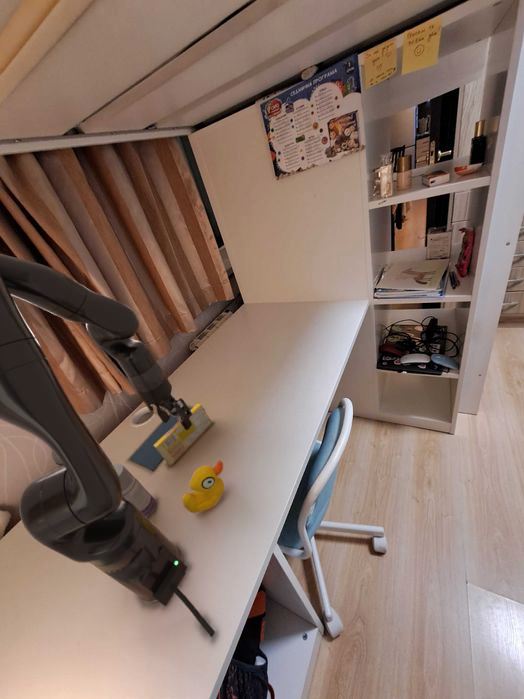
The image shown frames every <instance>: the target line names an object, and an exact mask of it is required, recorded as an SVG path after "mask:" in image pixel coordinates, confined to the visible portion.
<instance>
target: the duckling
mask: <svg viewBox="0 0 524 699" xmlns="http://www.w3.org/2000/svg"><path fill="white" fill-rule="evenodd" d="M223 470H224V462H223V461H222V460H218V461H217V463H216V464H214V466H213V467H212V466H211V465H202V466H199V467H198V468H197V469H196V470H195V471H194V472H193V474H192V475H191V479H190V481H189V484H188V486H189V488H190V489H191V490H192V491H193V492H186V493H185V494H184V495H182V496H183V497H182V505H183V506H184V508H185V509H186V510H187V511H188V512H190V513H192V514H196V513H200V512H204V511H205V512H206V511H208V510H210V509H212V508H214V507H215V506H216V505H217V504H218V502H219V501H220V499H221V498H222V496H223V493H224V490H225V483H224V480H223V479H222V478H221V477H220V476H219V475H221V473H222V472H223Z"/></svg>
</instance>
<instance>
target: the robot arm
mask: <svg viewBox="0 0 524 699" xmlns="http://www.w3.org/2000/svg"><path fill="white" fill-rule="evenodd" d="M14 297H15V298H18V299H20V300H22V301H25V302H27V303H30V304H32V305H34V306H36V307H38V308H40V309H42V310H43V311H47V312H49V313H51V314H53V315H54V316H57V317H59V318H61V319H63V320H65V321H68V322H71V323H75V324H85V327H86V330H87V332H88V335H89V336H90V338H91V339H92V340H93V341H94V342H95V343H96V344H97V345H98V346H99V347H100V348H101V349H102V350H103V351H104V352H106V353H107V354H108V355H109V356H110V357H111V358H113V359H114V360H115V361H116V362H117V363H118V365H119V367H120V368H121V369H122V370H123V372H124V373H125V375H126V376H127V378H128V380H129V383H130V385H131V386H132V387H133V388H134V390H135V391H136V393H137V394H138V396H139V397H140V398H141V400H142V401H143V403H144V405H145V406H146V408H147V409H148V410H149V411H150V412H152V413H154V414H155V415H157V416H158V417H159V419H160V420H161V423H162V422H163V423H167V422H168V420H169V419H170V416H172V417H176V418H177V419H178V420H179V421H180V423H181V424H182V426H183V427H184V429H185V430H188V429H189V428H190V427H191V426H192V423H191V421H190V420H189V418H190V416H191V415H192V413H191V411H190V410H189V408H188V407H189V406H188V405H187V403H186V402H185V401H184V399H183V398H181V397H180V398H178V399H176V398H175V397H174V396H173V395H172V390H173V386H172V384H171V382H170V381H169V379H168V377H167V375H166V374H165V372H164V370H163V369H162V367H161V365H160V364H159V363H158V362H157V361H156V359H155V357H154V356H153V354H152V353H151V351H150V349H149V347H148V346H147V345H146V344H145V343H144V342H143V341H141V340H139V339H135V338H132V337H134V336H135V335H136V334H137V333H138V332H139V329H140V322H139V318H138V316H137V314H136V312H135V311H133V309H132V308H130V307H129V306H128V305H126V304H124V303H123V302H120V301H117V300H116V299H113V298H111V297H108V296H106V295H103V294H100V293H98V292H94V291H93V290H90V289H89V288H87V287H86V286H84V285H83V284H81V283H79V282H78V281H76V280H75V279H73V278H71V277H70V276H68V275H66V274H65V273H63V272H61V271H59V270H57V269H55V268H53V267H50V266H47V265H44V264H42V263H39V262H34V261H31V260H27V259H23V258H18V257H15V256H11V255H7V254H4V253H0V420H1V421H3V422H5V423H7V424H9V425H11V426H14V427H16V428H18V429H21V430H22V431H25V432H27V433H29V434H31V435H32V436H34V437H36V438H38V439H39V440H40V441H41V442H43V443H44V444H45V445H46V446H47V447H48V448H49V449H50V450H51V452H52V451H53V452H54V453H55V454H56V455H57V457H58V458H59V459H60V461H61V462H62V463H63V465H64V466H62V467H61V466H59V467H57V468H55V469H54V470H53V469H52V470H51V471H49V472H47V473H44V474H43V475H39V477H37V478H35V479H34V480H32V481H30V483H29V484H28V485H27V486H26V487H25V488H24V490H23V492H22V494H21V496H20V500H19V505H18V506H19V508H18V509H19V516H20V520H21V523H22V525H23V526H24V528H25V530H26V531H27V532H28V534H29V535H30V536H31V537H32V538H33V539H34V540H36V541H37V542H38V543H39V544H41V545H43V546H45V547H46V548H48V549H50V550H51V551H53V552H56V553H57V554H60V555H61V556H63V557H65V558H67V559H68V560H71V561H73V562H74V563H75V562H76V563H79V564H86V563H89V564H91V565H92V566H94V567H96V568H97V569H98V570H100V571H101V572H102V573H104V574H106V575H107V576H108V577H110V578H111V579H113V580H114V581H116V582H117V583H119V584H120V585H121V586H123V587H125V588H126V589H127V590H129V591H130V592H132V593H133V594H135V595H137V596H138V597H139V598H140V599H141V600H143V601H144V602H146V603H149V604H157V603H160V604H161V605H163V606H164V607H167V606H168V604H169V602H170V601H171V599H172V597H173V596H174V594H175V595H176V596H177V598H178V599H180V600H181V602H182V603H183V604H184V605H185V606H186V608H187V609H188V610H189V611H190V612H191V614H192V615H193V616H194V618H195V619H196V620H197V621H198V623H199V624H200V625H201V627H202V628H203V629H204V631H206V632H207V634H208V635H209V636H210V637H213V636H214V634H215V630H214V629H213V627H211V625H210V624H209V623H208V622H207V620H205V618H204V617H203V616H202V615H201V613H200V611H199V610H198V609H197V608H196V606H195V605H194V604H193V603H192V602H191V601H190V600H189V598H187V596H186V594H184V593H183V591H181V590H180V589H179V588H178V587H179V586H180V584H181V583H182V580H183V578H184V576H185V575H186V571H187V569H188V566H187V564H186V563H185V558H184V554H183V552H182V551H181V549H180V548H179V547H177V546H176V545H175V544H174V543H173V542H172V541H171V540H169V538H168V537H167V536H166V535H165V534H163V532H162V531H161V530H160V529H159V528H157V527H156V525H155V524H153V522H152V521H151V520H150V519H148V517H146V516H145V515H144V514H143V513H142V512H141V511H140V510H139V509H138V508H137V507H136V506H135V505H134V504H133V503H131V502H130V501H128V500H126V499H122V486H121V482H120V479H119V477H118V474H117V472H116V470H115V468H114V466H113V465H114V464H113V463H112V461H111V459H110V458H109V456H108V455H107V453H106V452H105V450H104V449H103V448H102V446H101V445H100V443H99V442H98V440H97V439H96V438H95V437H94V435H93V433H92V432H91V431H90V428H88V426H87V425H86V423H85V422H84V421H83V419H82V418H81V416H80V414H79V413H78V412H77V410H76V409H75V407H74V405H73V403H72V402H71V399H70V398H69V396H68V395H67V393H66V391H65V389H64V387H63V386H62V384H61V383H60V380H59V378H58V377H57V374H56V373H55V371H54V369H53V367H52V365H51V363H50V361H49V359H48V358H47V356H46V354H45V352H44V350H43V348H42V346H41V345H40V343H39V342H38V339H37V338H36V336H35V335H34V333H33V331H32V330H31V328H30V327H29V325H28V324H27V322H26V320H25V318H24V317H23V315H22V313H21V312H20V309H19V307H18V305H17V304H16V301H15V300H14ZM174 409H175V410H176V411H175V412H172V411H173V410H174ZM177 413H178V414H179V415H180V416H181V417H180V416H179V415H178V414H177ZM169 415H170V416H169Z"/></svg>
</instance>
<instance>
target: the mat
mask: <svg viewBox="0 0 524 699" xmlns="http://www.w3.org/2000/svg"><path fill="white" fill-rule="evenodd" d="M188 408H189V410H191V409H192V408H193V407H189V406H188ZM175 411H176V410H175V409H173V410H172V411H171V412H175ZM177 414H178V413H177ZM168 415H169V414H168ZM178 415H179V414H178ZM169 416H170V415H169ZM179 416H180V415H179ZM180 417H181V416H180ZM178 422H179V420H178V419H177V418H176V417H172V416H170V419H169V420H168V422H167V423H163V422H162V421H161V423H160V424H159V425H158V426H157V427H156V429H155V430H154V431H153V432H152V433H151V434H150V435H149V436H148V437H147V439H146V440H144V442H143V443H142V444H141V445H140V446H139V447H138V448H137V450H136V451H135V452H134V453H133V454H132V455H131V456H130V457H129V458H128V459H129V460H130V461H132V462H134V463H135V464H138V465H140V466H142V467H145V468H146V469H148V470H150V471H153V472H154V471H155V470H156V469H157V467H158V466H159V465H160V464H161V462H162V461H163V460H165V459H164V458H163V457H162V455H161V454H160V453H159V452H158V450H157V449H156V448H155V447H154V444H155V443H156V442H157V441H158V440H159V439H161V438H162V437H163V436H164V435H165V434H166V433H167V432H168V431H169V430H170V429H171V428H172V427H173V426H174V425H175V424H176V423H178Z"/></svg>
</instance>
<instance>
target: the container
mask: <svg viewBox="0 0 524 699" xmlns="http://www.w3.org/2000/svg"><path fill="white" fill-rule="evenodd" d="M113 466H114V468H115V470H116V472H117V474H118V477H119V479H120V482H121V486H122V499H126V500H128V501H130V502H131V503H133V504H134V505H135V506H136V507H137V508H138V509H139V510H140V511H141V512H142V513H143V514H144V515H145V516H146V517H147V518H148V517H150V516H151V515H152V514H153V512H154V511H155V509H156V507H157V501H156V499H155V498H154V497H153V496H152V495H151V493H149V491H148V490H147V489H146V487H145V486H144V485H142V483H141V482H140V481H139V480H138V479H137V478H136V477H135V476H134V475H133V474H132V472H130V471H129V470H128V469H127V467H126V466H124V464H122V463H119V462H118V463H115V464H113Z"/></svg>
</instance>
